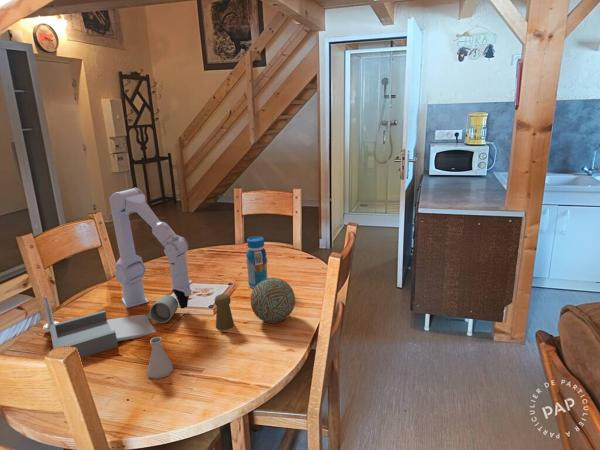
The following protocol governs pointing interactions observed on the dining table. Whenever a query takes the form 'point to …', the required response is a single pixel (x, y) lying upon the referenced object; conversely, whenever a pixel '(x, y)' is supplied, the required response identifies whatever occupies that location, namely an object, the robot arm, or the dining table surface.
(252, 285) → the beverage bottle
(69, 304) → the dining table surface
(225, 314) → the olive pawn
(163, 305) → the ceramic mug
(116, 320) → the dock
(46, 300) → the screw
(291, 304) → the decorative sphere
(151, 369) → the flask
